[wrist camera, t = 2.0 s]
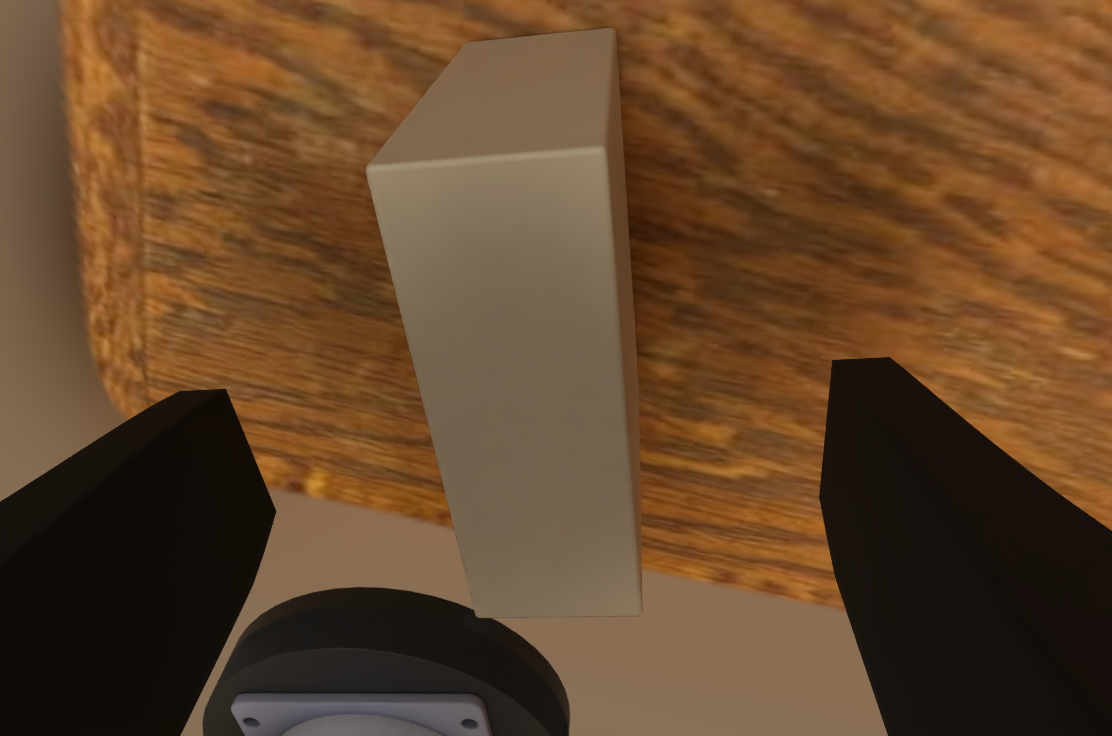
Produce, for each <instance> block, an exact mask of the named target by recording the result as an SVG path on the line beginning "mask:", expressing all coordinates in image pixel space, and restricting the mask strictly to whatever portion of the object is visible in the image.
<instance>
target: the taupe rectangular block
mask: <svg viewBox="0 0 1112 736" xmlns="http://www.w3.org/2000/svg"><path fill="white" fill-rule="evenodd" d="M366 175H367V179H368V183H369V187H370V192H371V196H372V200H373V204H374V208H375V212H376V216H377V220H378V224H379V228H380V232H381V236H382V240H383V244H384V248H385V252H386V256H387V260H388V264H389V268H390V272H391V276H392V280H393V284H394V288H395V292H396V296H397V300H398V304H399V308H400V313H401V317H402V321H403V325H404V329H405V333H406V337H407V341H408V345H409V349H410V353H411V357H412V361H413V365H414V369H415V373H416V377H417V381H418V385H419V389H420V393H421V397H422V401H423V405H424V409H425V413H426V417H427V421H428V425H429V429H430V433H431V438H432V442H433V446H434V450H435V454H436V458H437V462H438V466H439V470H440V474H441V478H442V482H443V486H444V490H445V494H446V498H447V502H448V506H449V510H450V514H451V518H452V522H453V526H454V530H455V534H456V538H457V542H458V546H459V550H460V554H461V558H462V562H463V567H464V571H465V574H466V579H467V583H468V586H469V590H470V595H471V599H472V603H473V607H474V611H475V615H476V616H477V617H479V618H523V617H524V618H525V617H526V618H527V617H616V616H617V617H629V616H640V615H641V613H642V558H641V497H640V436H639V381H638V365H637V350H636V334H635V319H634V303H633V288H632V272H631V257H630V241H629V226H628V210H627V194H626V179H625V163H624V148H623V132H622V117H621V101H620V86H619V70H618V55H617V39H616V31H615V29H613V28H602V29H592V30H583V31H573V32H563V33H553V34H543V35H534V36H524V37H514V38H504V39H494V40H485V41H475V42H467V43H465V44H464V45H463V46H462V48H461V49H460V50H459V51H458V53H457V54H456V55H455V56H454V58H453V59H452V60H451V61H450V63H449V64H448V65H447V66H446V68H445V69H444V70H443V71H442V73H441V74H440V75H439V76H438V78H437V79H436V80H435V81H434V83H433V84H432V85H431V86H430V88H429V89H428V90H427V91H426V93H425V94H424V95H423V96H422V98H421V99H420V100H419V101H418V103H417V104H416V105H415V106H414V108H413V109H412V110H411V111H410V113H409V114H408V115H407V116H406V118H405V119H404V120H403V121H402V123H401V124H400V125H399V126H398V128H397V129H396V130H395V131H394V133H393V134H392V135H391V136H390V138H389V139H388V140H387V141H386V143H385V144H384V145H383V146H382V148H381V149H380V150H379V151H378V153H377V154H376V155H375V156H374V158H373V159H372V160H371V161H370V163H369V164H368V165H367V166H366Z"/></svg>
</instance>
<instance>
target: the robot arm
mask: <svg viewBox="0 0 1112 736" xmlns="http://www.w3.org/2000/svg"><path fill="white" fill-rule="evenodd" d="M819 498H820V503H821V509H822V514H823V519H824V525H825V530H826V535H827V540H828V545H829V550H830V555H831V559H832V564H833V569H834V574H835V577H836V581H837V584H838V587H839V590H840V593H841V596H842V599H843V602H844V605H845V608H846V611H847V614H848V617H849V620H850V623H851V626H852V630H853V633H854V635H855V639H856V642H857V645H858V648H859V650H860V653H861V656H862V659H863V662H864V665H865V668H866V671H867V674H868V677H869V680H870V683H871V686H872V689H873V692H874V695H875V698H876V701H877V704H878V707H879V710H880V713H881V716H882V719H883V722H884V725H885V728H886V731H887V734H888V736H1112V531H1111V530H1110V529H1108V528H1107V527H1105V526H1104V525H1103V524H1101V523H1100V522H1098V521H1097V520H1095V519H1094V518H1093V517H1091V516H1090V515H1088V514H1087V513H1085V512H1084V511H1083V510H1081V509H1080V508H1078V507H1077V506H1076V505H1074V504H1073V503H1071V502H1070V501H1068V500H1067V499H1066V498H1064V497H1063V496H1062V495H1060V494H1059V493H1058V492H1056V491H1055V490H1054V489H1052V488H1051V487H1050V486H1048V485H1047V484H1046V483H1044V482H1043V481H1042V480H1040V479H1039V478H1038V477H1036V476H1035V475H1034V474H1032V473H1031V472H1030V471H1028V470H1027V469H1026V468H1024V467H1023V466H1022V465H1021V464H1019V463H1018V462H1017V461H1015V460H1014V459H1013V458H1012V457H1010V456H1009V455H1008V454H1007V453H1005V452H1004V451H1003V450H1002V449H1000V448H999V447H998V446H996V445H995V444H994V443H993V442H991V441H990V440H989V439H988V438H987V437H985V436H984V435H983V434H982V433H980V432H979V431H978V430H977V429H975V428H974V427H973V426H972V425H971V424H969V423H968V422H967V421H966V420H965V419H963V418H962V417H961V416H960V415H959V414H957V413H956V412H955V411H954V410H953V409H951V408H950V407H949V406H948V405H947V404H945V403H944V402H943V401H942V400H941V399H939V398H938V397H937V396H936V395H935V394H934V393H932V392H931V391H930V390H929V389H928V388H926V387H925V386H924V385H923V384H922V383H921V382H919V381H918V380H917V379H916V378H915V377H913V376H912V375H911V374H910V373H909V372H907V371H906V370H905V369H904V368H903V367H901V366H900V365H899V364H898V363H896V362H895V361H894V360H893V359H891V358H890V357H884V358H863V359H842V360H832V369H831V380H830V390H829V401H828V411H827V421H826V432H825V442H824V453H823V463H822V473H821V484H820V494H819ZM275 514H276V509H275V507H274V505H273V502H272V500H271V497H270V495H269V492H268V490H267V488H266V485H265V483H264V480H263V478H262V475H261V473H260V471H259V468H258V466H257V463H256V461H255V458H254V456H253V454H252V451H251V449H250V446H249V444H248V441H247V439H246V437H245V434H244V432H243V429H242V427H241V424H240V422H239V420H238V417H237V415H236V412H235V410H234V408H233V405H232V403H231V400H230V398H229V395H228V393H227V391H226V389H214V390H193V391H179V392H177V393H175V394H173V395H171V396H169V397H167V398H165V399H163V400H162V401H160V402H158V403H156V404H154V405H153V406H151V407H149V408H147V409H146V410H144V411H142V412H141V413H139V414H137V415H136V416H134V417H132V418H131V419H129V420H128V421H126V422H124V423H123V424H121V425H120V426H118V427H116V428H115V429H113V430H112V431H110V432H109V433H107V434H105V435H104V436H102V437H101V438H99V439H97V440H96V441H94V442H93V443H91V444H90V445H88V446H87V447H85V448H83V449H82V450H80V451H79V452H77V453H76V454H74V455H73V456H71V457H69V458H68V459H66V460H65V461H63V462H62V463H60V464H59V465H57V466H55V467H54V468H52V469H51V470H49V471H48V472H46V473H45V474H43V475H42V476H40V477H38V478H37V479H35V480H34V481H32V482H31V483H29V484H28V485H26V486H24V487H23V488H21V489H20V490H18V491H17V492H15V493H14V494H12V495H10V496H9V497H7V498H6V499H4V500H2V501H1V502H0V736H180V735H181V733H182V731H183V729H184V727H185V725H186V723H187V721H188V719H189V717H190V714H191V713H192V710H193V709H194V707H195V704H196V702H197V700H198V698H199V696H200V694H201V692H202V690H203V688H204V686H205V684H206V682H207V680H208V678H209V676H210V674H211V672H212V670H213V668H214V666H215V664H216V661H217V659H218V658H219V655H220V653H221V651H222V649H223V647H224V645H225V643H226V641H227V639H228V637H229V635H230V633H231V630H232V629H233V626H234V624H235V622H236V620H237V618H238V616H239V613H240V612H241V610H242V608H243V605H244V603H245V601H246V599H247V597H248V594H249V592H250V590H251V588H252V586H253V583H254V581H255V578H256V574H257V572H258V569H259V566H260V563H261V560H262V557H263V554H264V551H265V548H266V545H267V541H268V538H269V535H270V531H271V528H272V525H273V521H274V517H275ZM231 711H232V713H233V715H234V717H235V718H236V720H237V722H238V724H239V726H240V727H241V729H242V731H243V733H244V735H245V736H493V733H492V729H491V726H490V722H489V718H488V714H487V710H486V706H485V703H484V702H483V700H482V699H481V698H480V697H478V696H476V695H474V694H468V693H242V694H239V695H237V696H236V698H235V700H234V702H233V704H232V706H231Z"/></svg>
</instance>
